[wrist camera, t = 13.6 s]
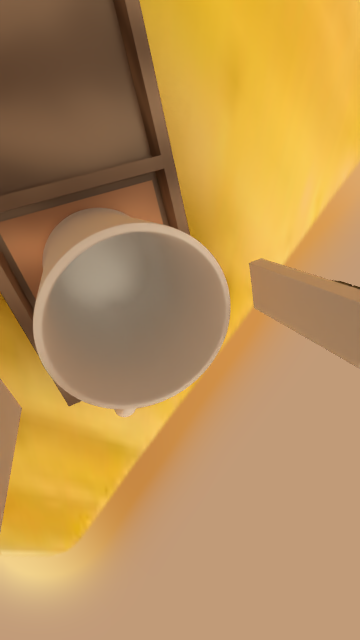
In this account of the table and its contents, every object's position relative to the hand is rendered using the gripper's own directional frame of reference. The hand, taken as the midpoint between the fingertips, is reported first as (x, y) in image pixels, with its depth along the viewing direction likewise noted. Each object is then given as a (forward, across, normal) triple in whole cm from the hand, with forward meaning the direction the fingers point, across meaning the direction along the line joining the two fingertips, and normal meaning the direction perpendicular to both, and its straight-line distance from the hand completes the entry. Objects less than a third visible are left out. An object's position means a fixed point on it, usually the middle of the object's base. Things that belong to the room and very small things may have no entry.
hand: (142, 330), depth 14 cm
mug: (+10, -1, 0) cm, 10 cm away
